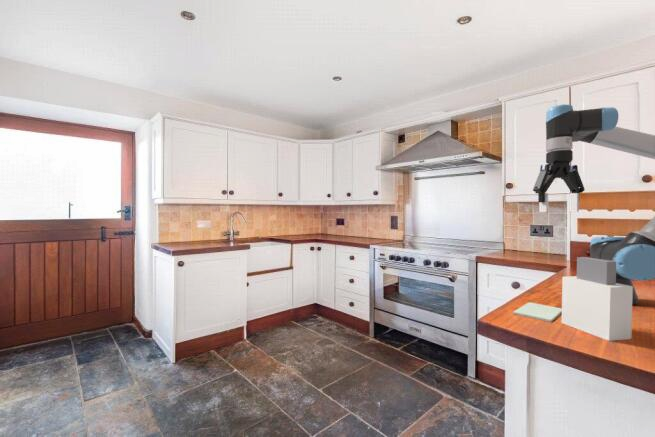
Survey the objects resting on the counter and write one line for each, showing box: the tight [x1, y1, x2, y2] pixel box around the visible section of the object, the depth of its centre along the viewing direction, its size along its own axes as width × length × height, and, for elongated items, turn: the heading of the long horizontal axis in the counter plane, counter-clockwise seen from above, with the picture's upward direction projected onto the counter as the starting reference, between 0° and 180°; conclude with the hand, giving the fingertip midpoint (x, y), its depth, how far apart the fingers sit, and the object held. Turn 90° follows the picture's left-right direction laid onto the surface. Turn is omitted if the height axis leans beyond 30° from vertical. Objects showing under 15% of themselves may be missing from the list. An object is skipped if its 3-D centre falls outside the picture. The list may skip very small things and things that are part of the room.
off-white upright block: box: [561, 256, 633, 342], centre depth 86 cm, size 7×13×20 cm, turn 11°
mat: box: [512, 301, 562, 323], centre depth 102 cm, size 10×16×1 cm, turn 132°
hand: (559, 211), depth 111 cm, fingers open, 13 cm apart
